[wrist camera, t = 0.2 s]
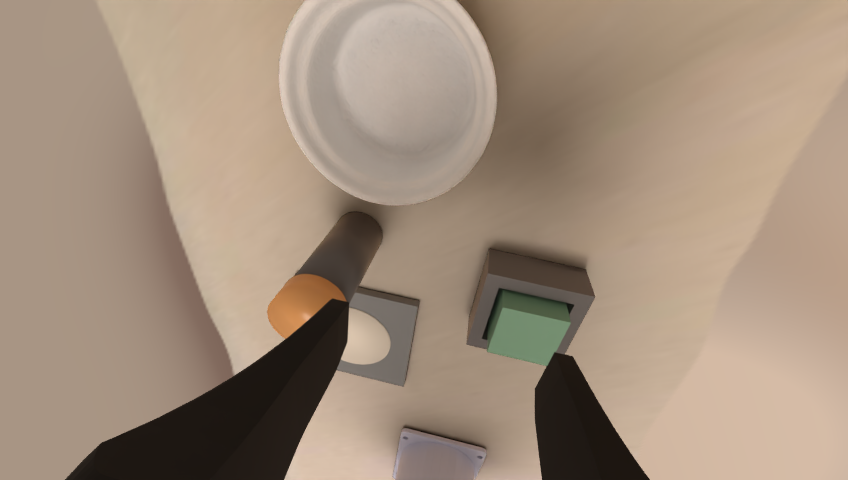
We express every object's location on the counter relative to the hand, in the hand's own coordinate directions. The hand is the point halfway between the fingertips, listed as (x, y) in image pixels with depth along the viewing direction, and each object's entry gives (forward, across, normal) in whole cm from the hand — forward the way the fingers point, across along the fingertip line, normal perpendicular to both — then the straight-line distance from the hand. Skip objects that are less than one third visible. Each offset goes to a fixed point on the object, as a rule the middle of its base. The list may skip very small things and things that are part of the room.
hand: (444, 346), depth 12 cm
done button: (+9, -5, +5) cm, 11 cm away
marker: (+10, +6, +3) cm, 12 cm away
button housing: (+10, -5, +5) cm, 12 cm away
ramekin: (+10, +4, -6) cm, 13 cm away
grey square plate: (+10, +6, +12) cm, 17 cm away
